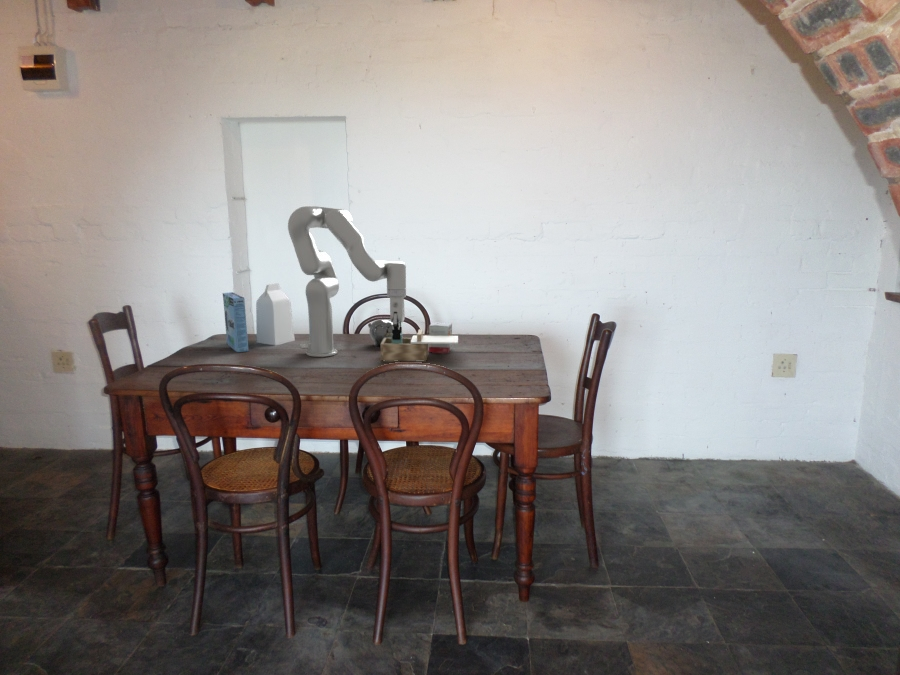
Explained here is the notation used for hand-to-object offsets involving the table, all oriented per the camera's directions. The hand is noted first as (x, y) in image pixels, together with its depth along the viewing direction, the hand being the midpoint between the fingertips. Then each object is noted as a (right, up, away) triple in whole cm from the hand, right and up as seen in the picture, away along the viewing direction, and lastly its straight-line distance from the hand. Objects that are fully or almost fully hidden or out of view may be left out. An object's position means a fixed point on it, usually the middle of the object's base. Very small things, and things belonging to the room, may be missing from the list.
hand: (397, 337), depth 253 cm
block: (0, -5, +1) cm, 6 cm away
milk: (-57, -2, +31) cm, 65 cm away
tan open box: (+3, -8, +2) cm, 9 cm away
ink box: (+17, -6, +14) cm, 23 cm away
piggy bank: (-8, -4, +24) cm, 26 cm away
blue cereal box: (-71, -5, +19) cm, 73 cm away
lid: (+15, -1, 0) cm, 15 cm away
